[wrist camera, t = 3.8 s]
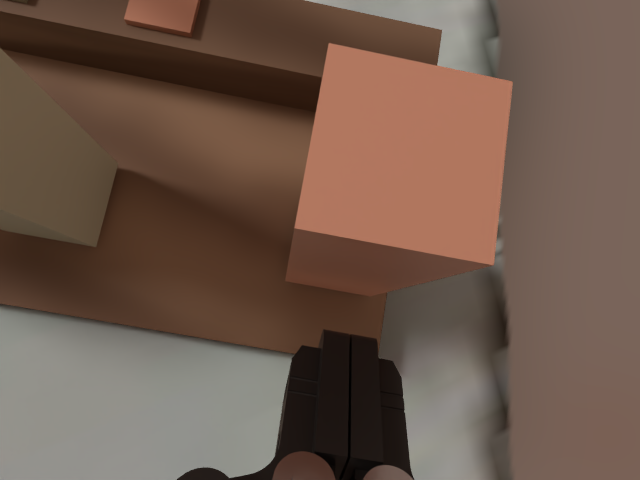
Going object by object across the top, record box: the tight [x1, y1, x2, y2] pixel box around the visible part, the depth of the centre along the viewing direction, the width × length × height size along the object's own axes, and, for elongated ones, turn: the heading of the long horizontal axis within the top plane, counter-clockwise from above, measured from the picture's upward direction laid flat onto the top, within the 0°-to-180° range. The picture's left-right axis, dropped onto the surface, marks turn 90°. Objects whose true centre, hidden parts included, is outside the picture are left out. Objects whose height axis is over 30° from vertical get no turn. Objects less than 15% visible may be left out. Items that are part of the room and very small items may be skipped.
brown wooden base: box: [0, 0, 442, 354], centre depth 18 cm, size 13×27×4 cm, turn 80°
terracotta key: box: [285, 43, 513, 296], centre depth 14 cm, size 4×4×11 cm
